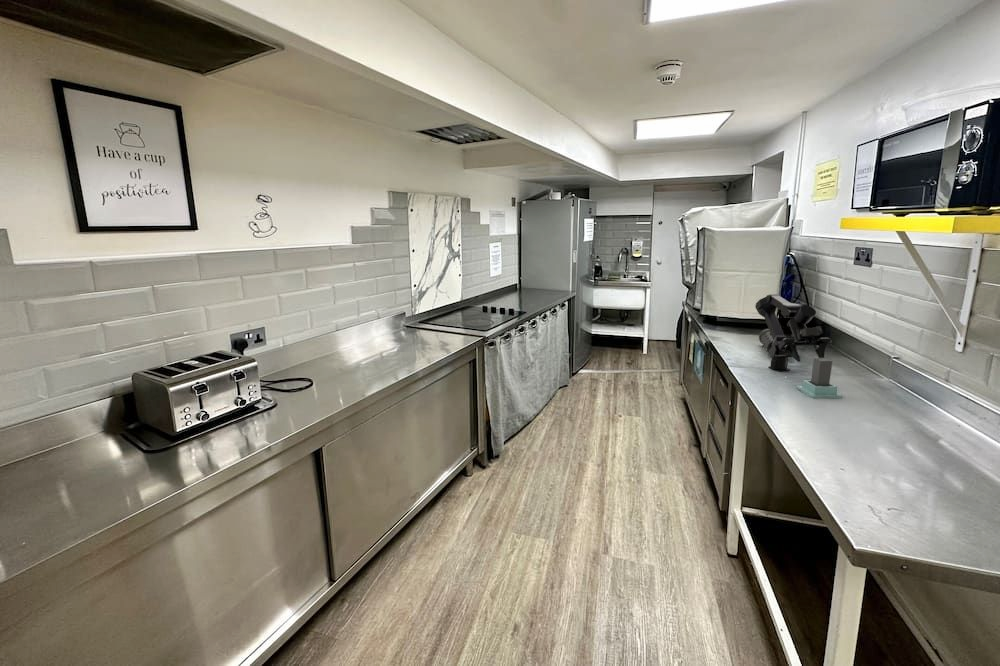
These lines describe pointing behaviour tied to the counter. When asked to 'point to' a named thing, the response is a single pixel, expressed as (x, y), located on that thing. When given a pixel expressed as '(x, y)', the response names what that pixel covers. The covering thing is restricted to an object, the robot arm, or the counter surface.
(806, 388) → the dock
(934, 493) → the counter surface
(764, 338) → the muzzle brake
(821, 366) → the plug
